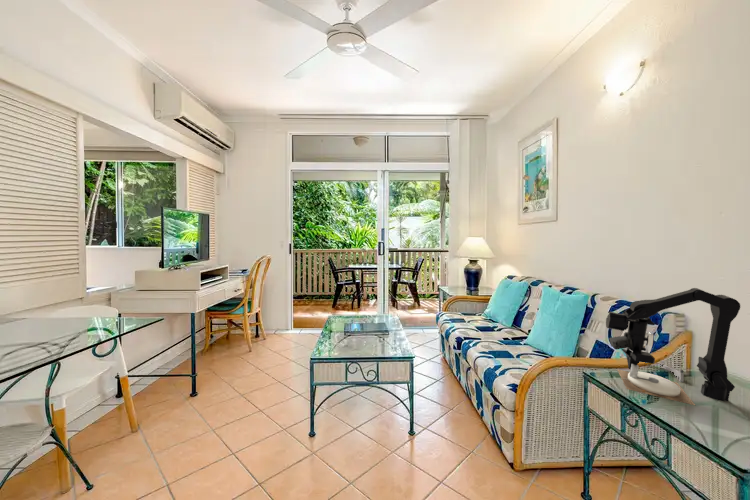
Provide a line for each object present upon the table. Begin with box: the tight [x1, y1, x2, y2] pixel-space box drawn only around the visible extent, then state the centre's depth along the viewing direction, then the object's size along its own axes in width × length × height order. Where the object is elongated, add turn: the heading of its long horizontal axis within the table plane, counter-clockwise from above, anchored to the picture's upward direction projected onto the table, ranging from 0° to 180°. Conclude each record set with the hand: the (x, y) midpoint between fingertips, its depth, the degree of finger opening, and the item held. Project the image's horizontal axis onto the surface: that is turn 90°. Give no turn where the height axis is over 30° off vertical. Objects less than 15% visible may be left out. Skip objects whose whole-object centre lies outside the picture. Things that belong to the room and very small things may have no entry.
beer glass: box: [642, 330, 654, 354], centre depth 155 cm, size 7×7×15 cm
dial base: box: [617, 369, 696, 406], centre depth 132 cm, size 20×19×2 cm
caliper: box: [662, 364, 685, 383], centre depth 146 cm, size 20×1×6 cm, turn 156°
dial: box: [627, 364, 682, 396], centre depth 131 cm, size 16×16×7 cm
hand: (630, 369), depth 137 cm, fingers closed
